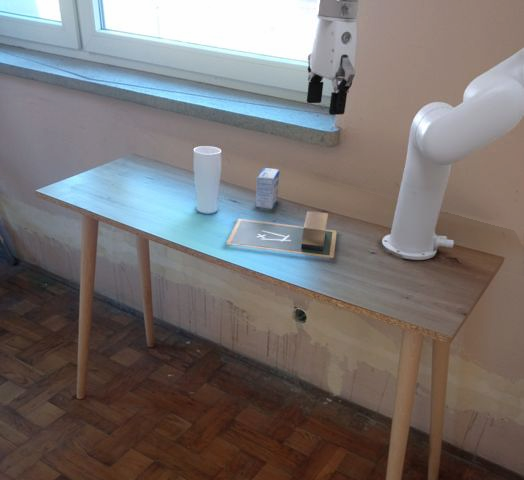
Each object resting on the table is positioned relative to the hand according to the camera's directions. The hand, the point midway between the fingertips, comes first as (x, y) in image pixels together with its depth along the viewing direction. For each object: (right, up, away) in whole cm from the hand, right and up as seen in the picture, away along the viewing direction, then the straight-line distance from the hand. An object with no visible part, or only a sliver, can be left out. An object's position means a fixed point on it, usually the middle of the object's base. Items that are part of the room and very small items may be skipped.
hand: (324, 108), depth 114 cm
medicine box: (-12, -12, +33) cm, 37 cm away
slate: (-8, -24, +15) cm, 30 cm away
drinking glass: (-27, -14, +27) cm, 41 cm away
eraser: (-1, -24, +14) cm, 28 cm away
